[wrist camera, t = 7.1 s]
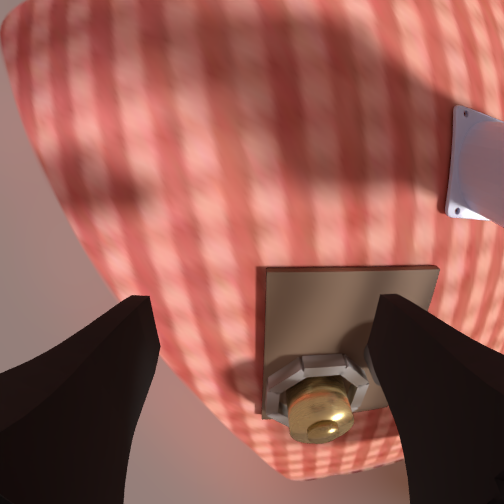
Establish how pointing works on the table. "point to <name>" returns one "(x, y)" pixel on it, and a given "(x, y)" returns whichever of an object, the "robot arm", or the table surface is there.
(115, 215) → the table surface
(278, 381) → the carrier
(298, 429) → the brass knob
